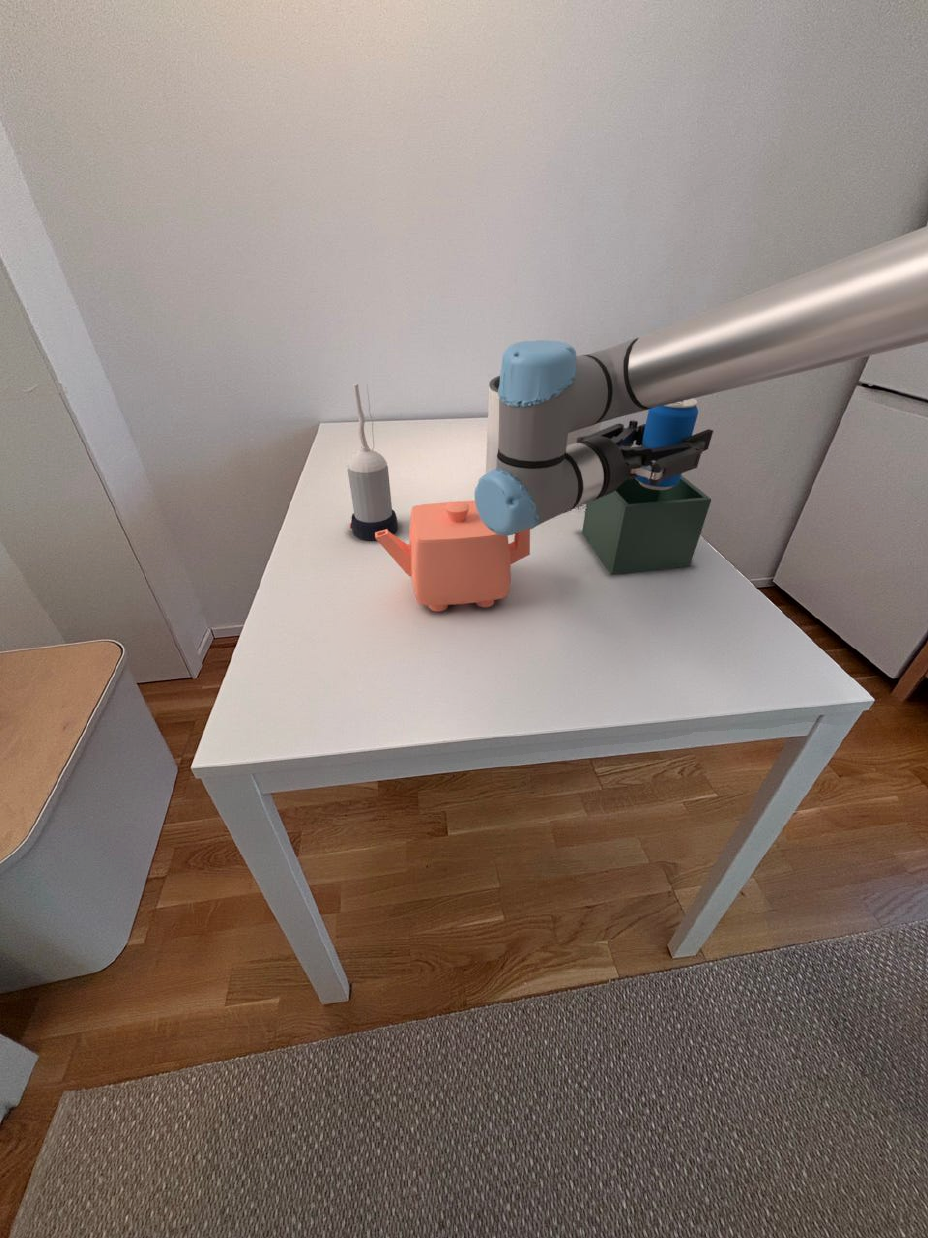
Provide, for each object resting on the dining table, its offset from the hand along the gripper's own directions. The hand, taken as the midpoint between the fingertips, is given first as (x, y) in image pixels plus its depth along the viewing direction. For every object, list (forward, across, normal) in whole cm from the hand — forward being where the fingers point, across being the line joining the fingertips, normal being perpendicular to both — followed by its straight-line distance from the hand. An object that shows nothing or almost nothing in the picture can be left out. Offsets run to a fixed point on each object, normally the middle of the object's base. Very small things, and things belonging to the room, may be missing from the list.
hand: (685, 432), depth 76 cm
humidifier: (-34, -36, -20) cm, 53 cm away
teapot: (-34, -12, -20) cm, 42 cm away
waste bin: (-3, -2, -20) cm, 20 cm away
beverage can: (-5, 0, -7) cm, 8 cm away
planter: (+3, -31, -20) cm, 37 cm away
